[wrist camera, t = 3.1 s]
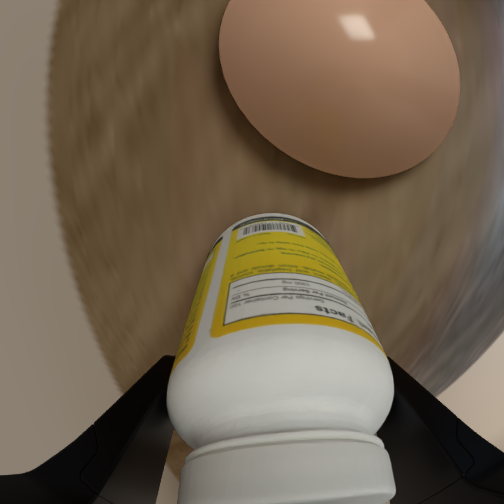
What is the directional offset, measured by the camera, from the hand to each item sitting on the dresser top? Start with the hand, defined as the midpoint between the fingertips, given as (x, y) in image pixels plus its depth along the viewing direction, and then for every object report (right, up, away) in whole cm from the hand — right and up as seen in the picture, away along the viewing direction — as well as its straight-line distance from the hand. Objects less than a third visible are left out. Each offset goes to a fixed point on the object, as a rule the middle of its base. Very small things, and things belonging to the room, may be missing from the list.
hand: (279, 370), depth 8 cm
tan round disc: (+3, +12, +1) cm, 12 cm away
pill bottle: (0, +3, +6) cm, 6 cm away
